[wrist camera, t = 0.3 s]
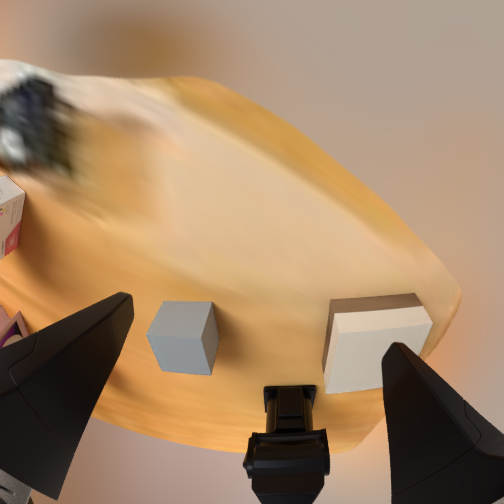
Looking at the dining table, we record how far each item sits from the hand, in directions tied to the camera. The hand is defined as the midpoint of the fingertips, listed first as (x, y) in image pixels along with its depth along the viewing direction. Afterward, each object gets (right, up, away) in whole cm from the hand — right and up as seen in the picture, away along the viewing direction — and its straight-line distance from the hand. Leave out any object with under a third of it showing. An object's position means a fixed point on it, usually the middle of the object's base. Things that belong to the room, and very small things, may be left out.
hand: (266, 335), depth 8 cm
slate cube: (-6, -4, +18) cm, 20 cm away
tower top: (+11, -7, +16) cm, 21 cm away
